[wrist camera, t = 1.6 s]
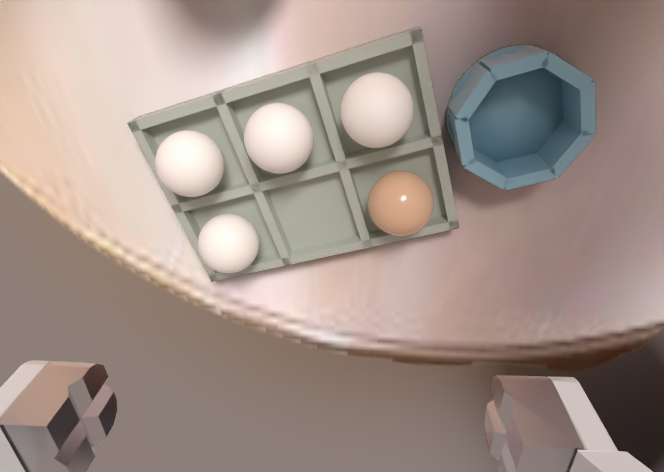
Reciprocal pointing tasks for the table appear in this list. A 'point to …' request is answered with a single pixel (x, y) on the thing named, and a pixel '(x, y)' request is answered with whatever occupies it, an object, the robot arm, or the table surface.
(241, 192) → the egg carton
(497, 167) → the egg cup
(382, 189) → the brown egg
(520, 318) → the table surface
